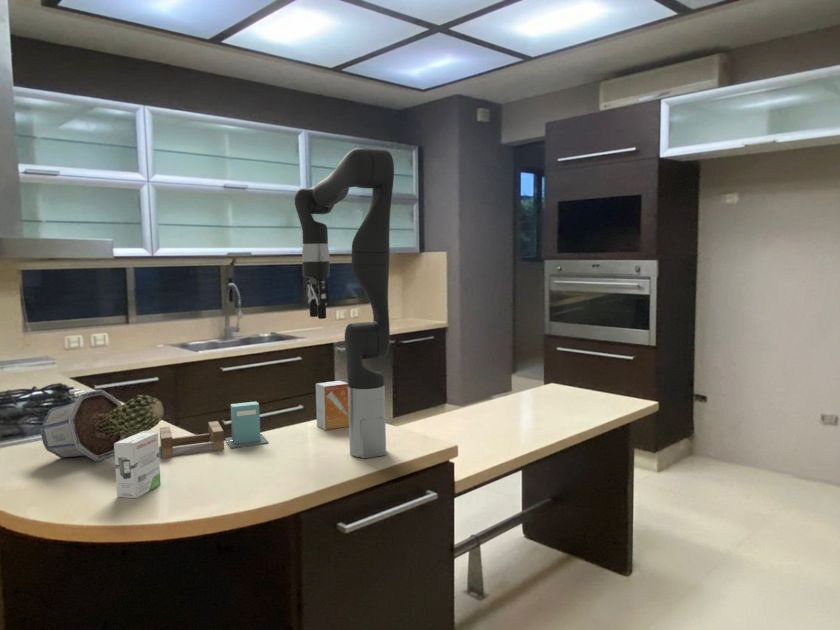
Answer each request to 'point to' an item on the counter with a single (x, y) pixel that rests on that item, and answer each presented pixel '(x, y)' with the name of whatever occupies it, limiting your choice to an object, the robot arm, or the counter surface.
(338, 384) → the small box
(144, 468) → the ink box
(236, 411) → the teal box
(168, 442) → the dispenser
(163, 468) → the counter surface
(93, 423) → the potted plant
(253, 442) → the mat
